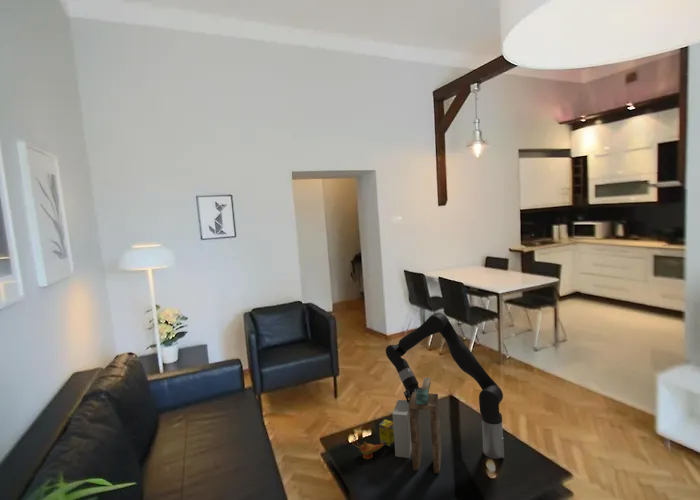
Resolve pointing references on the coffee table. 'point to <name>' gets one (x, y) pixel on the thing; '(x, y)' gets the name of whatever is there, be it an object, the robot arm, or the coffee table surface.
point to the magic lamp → (368, 448)
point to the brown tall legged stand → (416, 433)
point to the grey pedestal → (402, 429)
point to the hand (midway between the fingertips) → (423, 408)
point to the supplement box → (386, 432)
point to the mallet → (423, 393)
